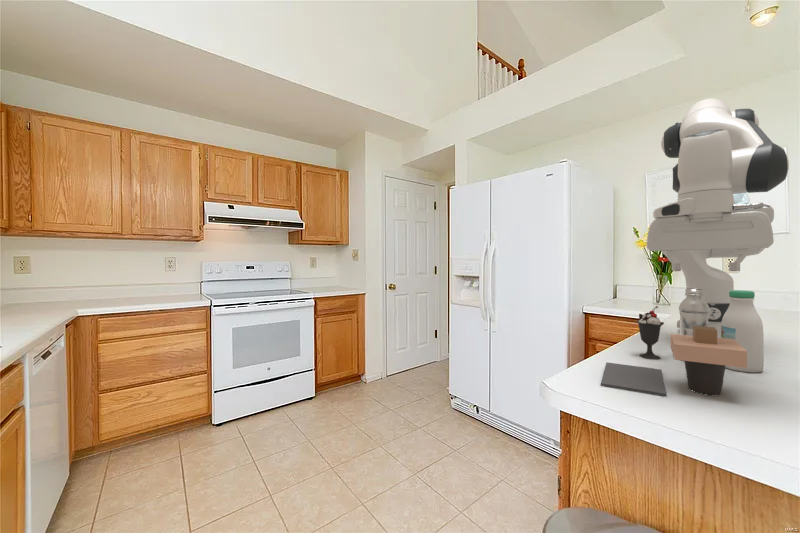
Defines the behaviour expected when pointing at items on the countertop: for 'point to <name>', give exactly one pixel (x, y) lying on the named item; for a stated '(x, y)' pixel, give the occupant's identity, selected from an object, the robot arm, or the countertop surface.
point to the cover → (708, 348)
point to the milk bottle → (744, 329)
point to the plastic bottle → (693, 311)
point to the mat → (634, 379)
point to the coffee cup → (705, 377)
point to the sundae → (649, 332)
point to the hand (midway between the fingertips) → (704, 271)
